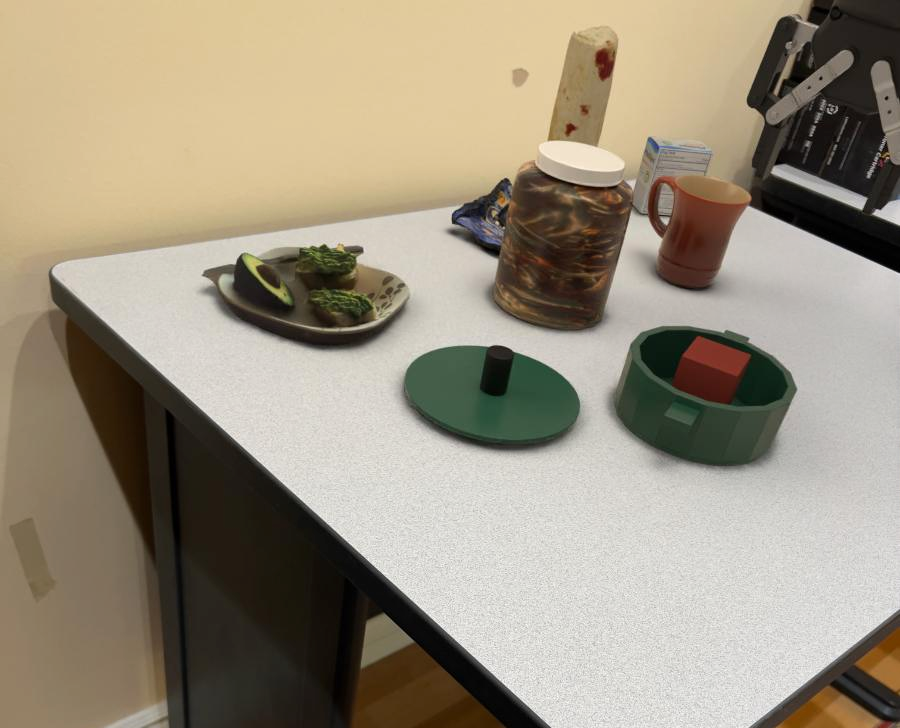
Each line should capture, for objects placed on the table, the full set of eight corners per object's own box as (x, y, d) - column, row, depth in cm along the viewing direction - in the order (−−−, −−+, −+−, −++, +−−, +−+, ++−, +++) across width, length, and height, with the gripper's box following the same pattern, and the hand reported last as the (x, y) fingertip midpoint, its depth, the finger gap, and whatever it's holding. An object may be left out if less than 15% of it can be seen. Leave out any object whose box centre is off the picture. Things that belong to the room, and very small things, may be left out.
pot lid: (602, 396, 82) (616, 350, 79) (534, 473, 71) (547, 423, 68) (454, 339, 86) (462, 292, 83) (369, 403, 75) (374, 353, 72)
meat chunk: (727, 413, 82) (751, 354, 78) (713, 436, 79) (737, 376, 75) (676, 394, 83) (698, 335, 79) (660, 416, 80) (682, 355, 76)
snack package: (567, 256, 106) (523, 214, 113) (573, 202, 101) (527, 162, 108) (475, 276, 102) (436, 231, 110) (477, 221, 98) (436, 179, 105)
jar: (575, 280, 100) (611, 138, 90) (619, 330, 93) (663, 180, 82) (478, 279, 97) (504, 131, 87) (515, 331, 89) (548, 175, 79)
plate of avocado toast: (294, 240, 97) (295, 197, 94) (440, 291, 93) (446, 247, 90) (182, 300, 83) (179, 252, 80) (347, 362, 80) (351, 314, 76)
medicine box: (680, 206, 125) (701, 140, 119) (693, 218, 122) (715, 151, 116) (629, 202, 123) (647, 134, 117) (640, 214, 120) (660, 146, 114)
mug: (733, 286, 106) (766, 197, 99) (691, 300, 101) (722, 208, 94) (655, 247, 112) (682, 161, 105) (612, 258, 107) (636, 169, 100)
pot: (791, 404, 86) (815, 353, 83) (742, 502, 73) (768, 446, 69) (652, 352, 90) (669, 301, 86) (580, 436, 76) (596, 379, 73)
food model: (582, 215, 116) (625, 40, 103) (532, 205, 116) (568, 28, 103) (585, 191, 123) (626, 25, 110) (539, 181, 123) (573, 14, 110)
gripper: (1041, -40, 57) (914, 214, 68) (830, -89, 62) (743, 156, 73) (1029, -36, 52) (894, 237, 63) (800, -91, 57) (711, 174, 68)
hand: (813, 194), depth 68 cm, fingers open, 8 cm apart
